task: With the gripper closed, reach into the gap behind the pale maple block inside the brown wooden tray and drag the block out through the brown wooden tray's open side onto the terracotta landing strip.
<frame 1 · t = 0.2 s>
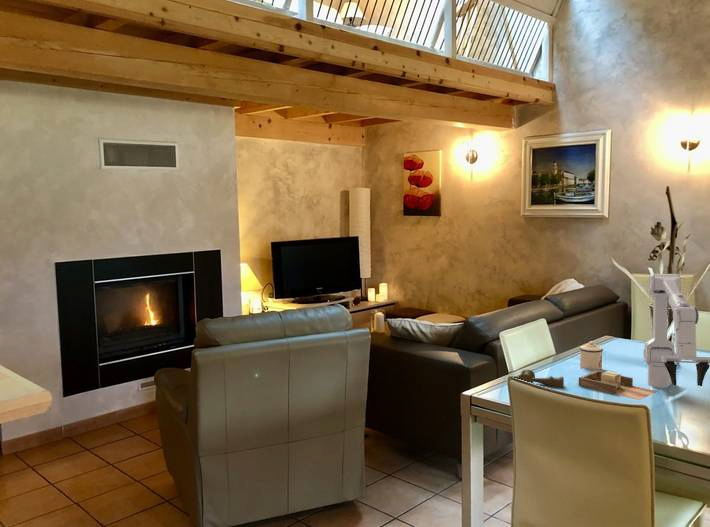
hand: (686, 385, 191), 10 cm above the table, tool pointing down, fingers open, 7 cm apart
maple block: (610, 386, 221), point 1 cm above the table, touching brown wooden tray
brown wooden tray: (617, 390, 219), on the table
kendama: (536, 387, 227), on the table
teacup with lid: (590, 368, 251), on the table
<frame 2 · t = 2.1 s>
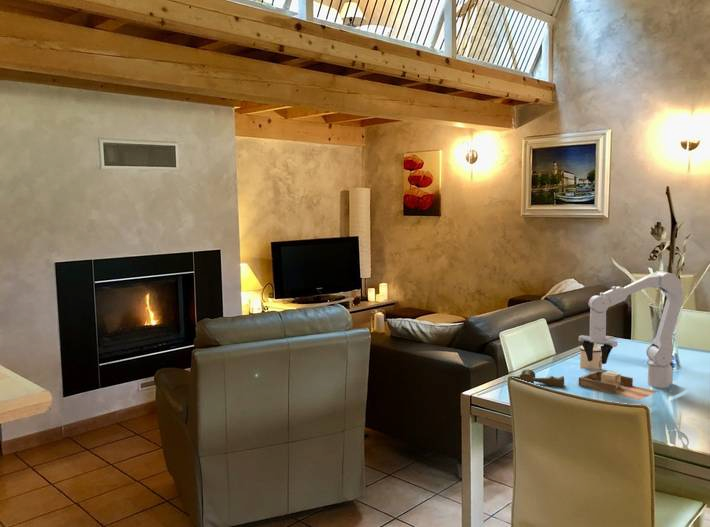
hand: (597, 362, 225), 9 cm above the table, tool pointing down, fingers open, 5 cm apart
nothing on the table moved.
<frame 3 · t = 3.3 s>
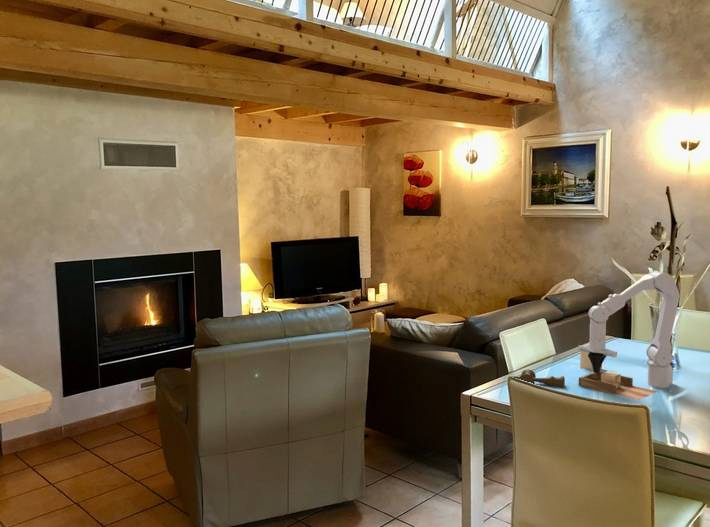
hand: (596, 372, 225), 5 cm above the table, tool pointing down, fingers closed
nothing on the table moved.
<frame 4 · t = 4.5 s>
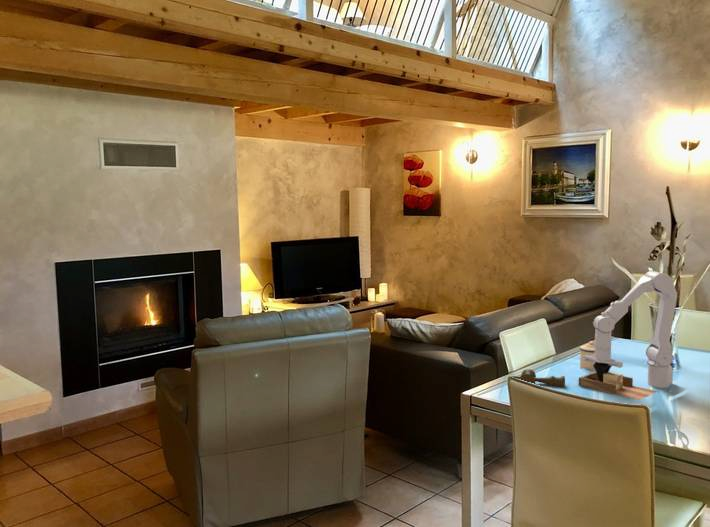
hand: (602, 382, 224), 2 cm above the table, tool pointing down, fingers closed
maple block: (612, 387, 221), point 1 cm above the table, touching gripper
everything else where it was.
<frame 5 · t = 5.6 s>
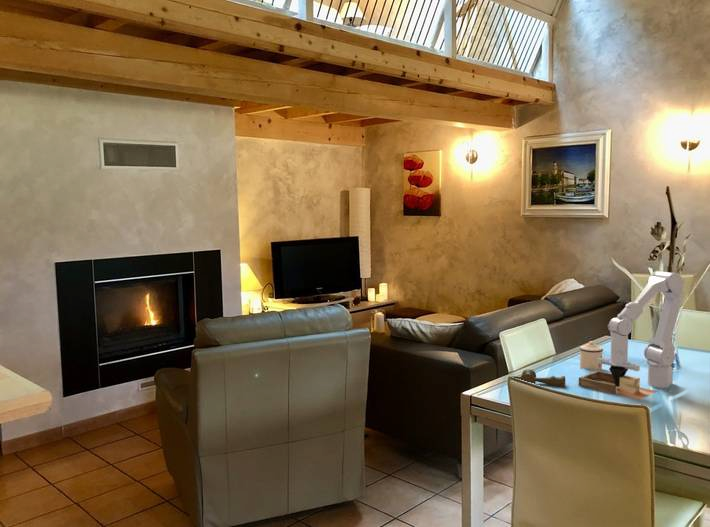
hand: (618, 386, 219), 2 cm above the table, tool pointing down, fingers closed
maple block: (629, 390, 216), point 1 cm above the table, touching gripper, brown wooden tray
everything else where it was.
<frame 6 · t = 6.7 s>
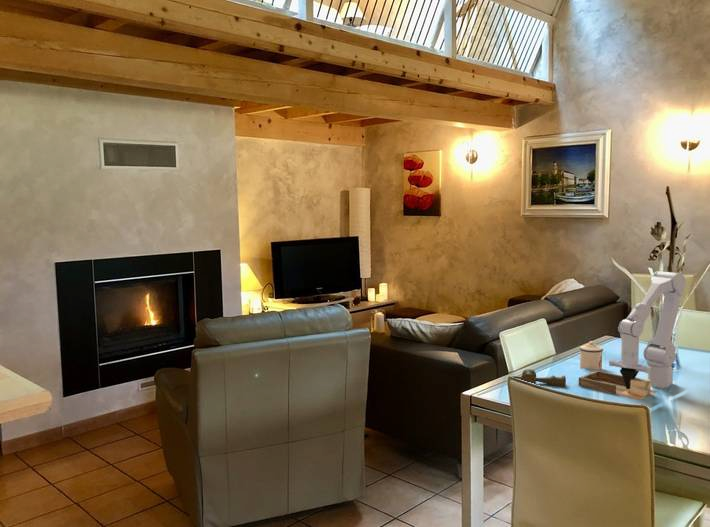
hand: (628, 388, 216), 2 cm above the table, tool pointing down, fingers closed
maple block: (640, 393, 213), point 1 cm above the table, touching gripper, brown wooden tray
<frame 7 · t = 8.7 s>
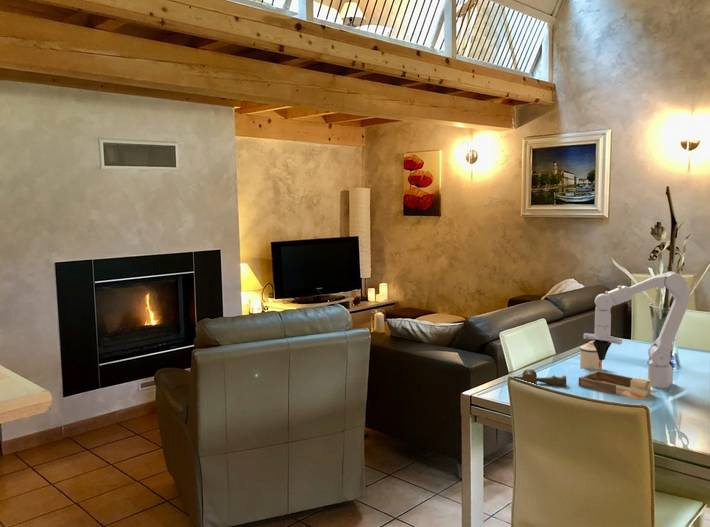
hand: (601, 359, 228), 9 cm above the table, tool pointing down, fingers closed
maple block: (640, 393, 213), point 1 cm above the table, touching brown wooden tray
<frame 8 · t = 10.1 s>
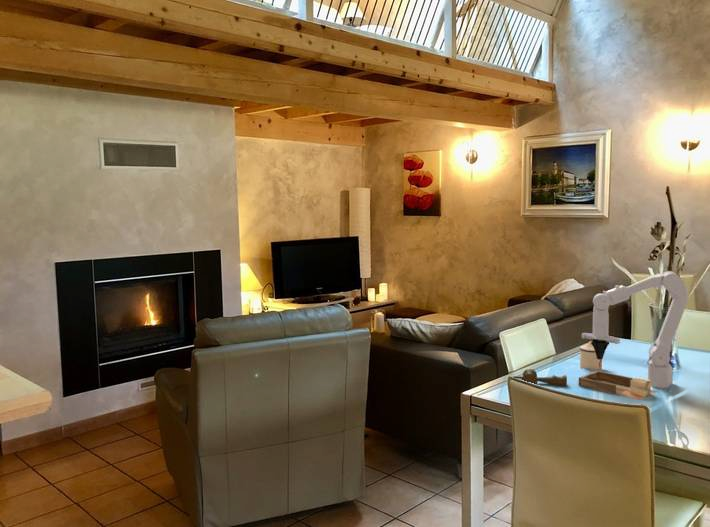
hand: (599, 359, 229), 9 cm above the table, tool pointing down, fingers closed
at the end: maple block inside the target area (0.6 cm from its centre), point 1.0 cm above the table; maple block tilted 0° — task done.
